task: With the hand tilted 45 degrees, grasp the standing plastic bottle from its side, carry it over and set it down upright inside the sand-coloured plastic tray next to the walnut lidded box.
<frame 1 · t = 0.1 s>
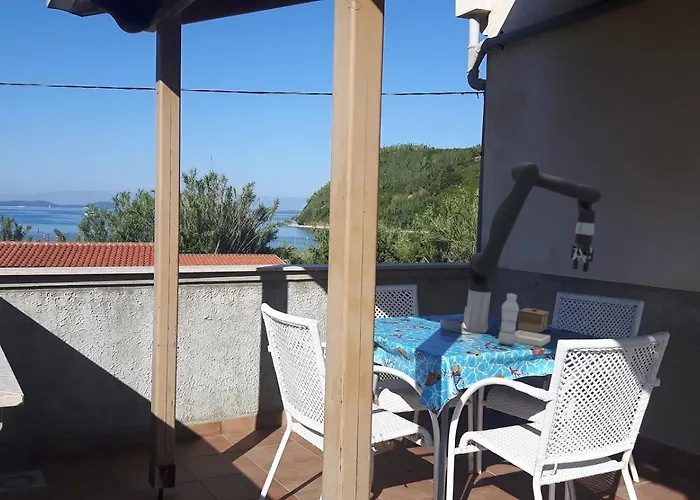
hand: (579, 270, 293), 29 cm above the table, tool pointing down, fingers open, 8 cm apart
tray: (529, 341, 274), on the table
lidded box: (532, 329, 305), on the table
plastic bottle: (506, 345, 263), on the table
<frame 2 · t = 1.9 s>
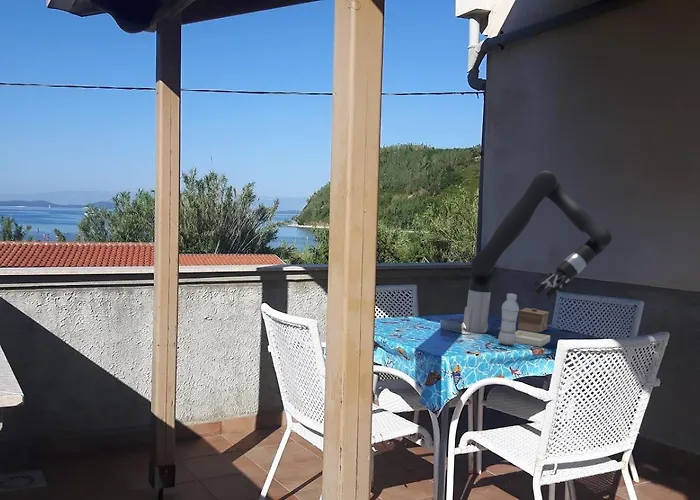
hand: (541, 294, 264), 21 cm above the table, tool tilted 45°, fingers open, 8 cm apart
nothing on the table moved.
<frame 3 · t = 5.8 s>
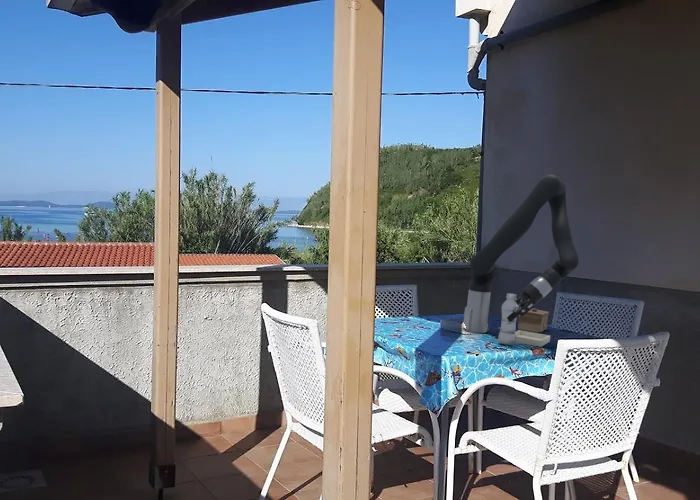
hand: (505, 318, 262), 10 cm above the table, tool tilted 45°, fingers closed on plastic bottle, 6 cm apart
plastic bottle: (506, 345, 263), on the table, touching gripper
when the fingers open (12 cm above the table, at t = 11.7 s): plastic bottle drops 1 cm, resting on tray.
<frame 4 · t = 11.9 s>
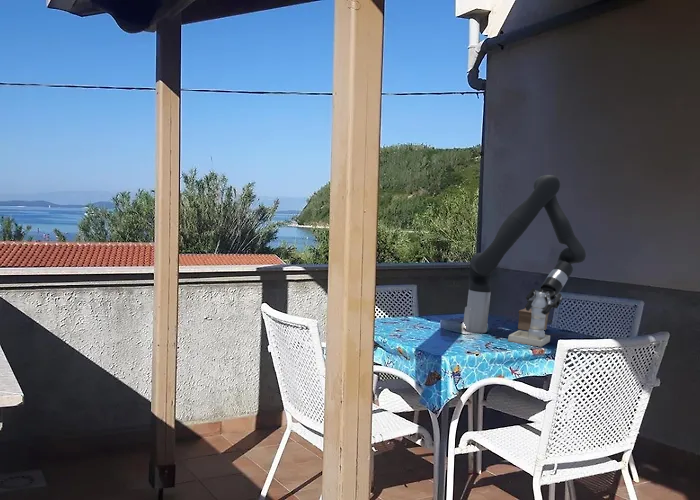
hand: (535, 311, 272), 13 cm above the table, tool tilted 45°, fingers open, 8 cm apart
plastic bottle: (535, 341, 273), resting on tray
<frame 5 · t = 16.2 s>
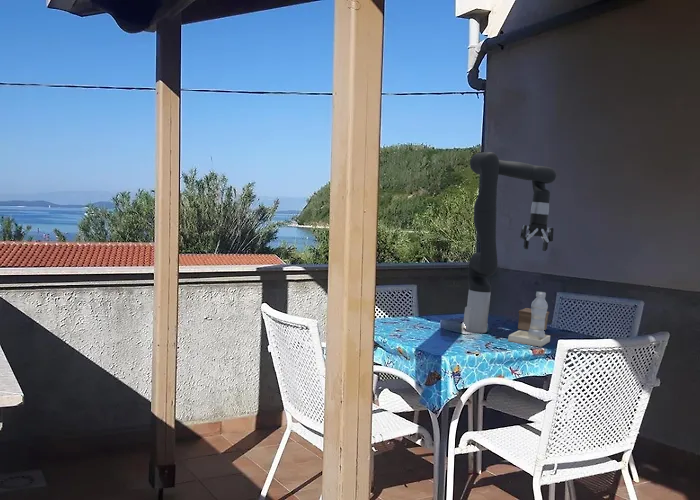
hand: (535, 250, 295), 36 cm above the table, tool pointing down, fingers open, 8 cm apart
nothing on the table moved.
at the end: plastic bottle inside the target area on the tray (2.5 cm from its centre), point 0.4 cm above the tray's base; plastic bottle tilted 0°; the gripper is holding nothing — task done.
